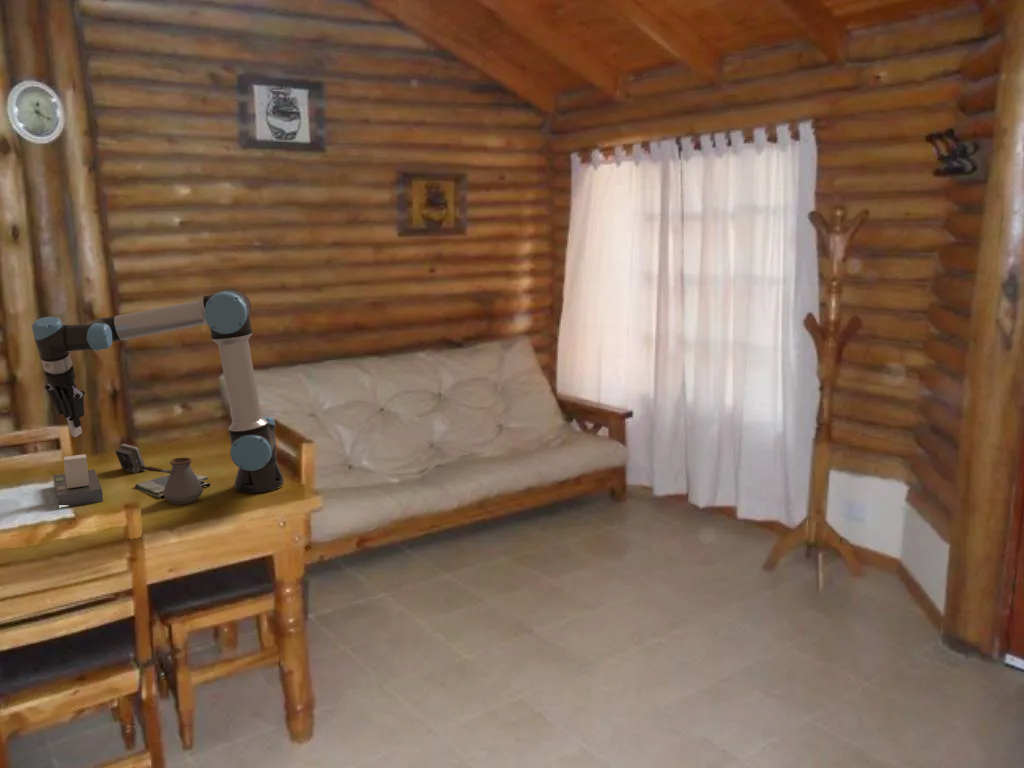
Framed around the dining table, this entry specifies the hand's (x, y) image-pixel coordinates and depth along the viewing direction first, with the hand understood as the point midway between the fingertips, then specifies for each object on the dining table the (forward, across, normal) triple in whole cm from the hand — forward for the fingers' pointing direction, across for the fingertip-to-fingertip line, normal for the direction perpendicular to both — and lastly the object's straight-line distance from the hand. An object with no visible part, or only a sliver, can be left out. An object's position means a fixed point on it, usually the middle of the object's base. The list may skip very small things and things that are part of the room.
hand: (77, 434), depth 249 cm
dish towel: (+23, +22, +12) cm, 34 cm away
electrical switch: (+30, -4, +20) cm, 36 cm away
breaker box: (+21, -2, -4) cm, 21 cm away
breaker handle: (+15, +1, -6) cm, 16 cm away
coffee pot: (+16, +33, -2) cm, 36 cm away
